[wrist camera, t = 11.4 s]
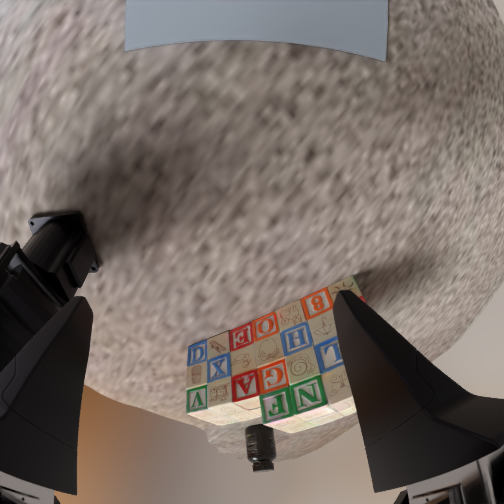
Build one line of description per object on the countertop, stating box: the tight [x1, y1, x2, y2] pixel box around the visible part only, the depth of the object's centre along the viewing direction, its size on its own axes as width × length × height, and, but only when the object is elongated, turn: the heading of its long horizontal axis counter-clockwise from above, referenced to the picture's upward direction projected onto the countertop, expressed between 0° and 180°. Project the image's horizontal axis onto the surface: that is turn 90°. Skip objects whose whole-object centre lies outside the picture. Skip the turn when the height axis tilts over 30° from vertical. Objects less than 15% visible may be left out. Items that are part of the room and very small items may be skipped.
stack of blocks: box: [186, 276, 367, 433], centre depth 27 cm, size 21×6×12 cm, turn 120°
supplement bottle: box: [245, 424, 277, 472], centre depth 53 cm, size 7×7×12 cm
